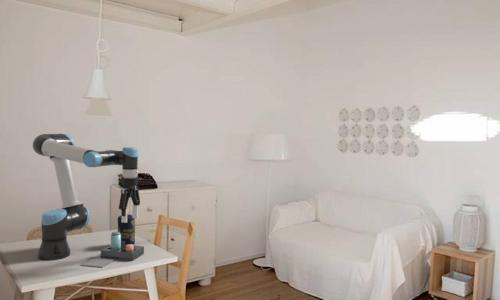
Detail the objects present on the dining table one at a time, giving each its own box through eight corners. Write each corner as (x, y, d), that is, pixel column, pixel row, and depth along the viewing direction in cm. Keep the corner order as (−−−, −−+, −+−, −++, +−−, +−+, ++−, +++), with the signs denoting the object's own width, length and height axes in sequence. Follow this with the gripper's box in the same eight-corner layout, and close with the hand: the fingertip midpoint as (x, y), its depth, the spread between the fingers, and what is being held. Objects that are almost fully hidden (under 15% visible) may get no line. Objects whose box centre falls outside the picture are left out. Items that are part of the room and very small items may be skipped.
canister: (129, 248, 226) (129, 216, 225) (114, 246, 228) (114, 215, 227) (137, 243, 235) (138, 213, 234) (123, 242, 237) (123, 212, 236)
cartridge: (109, 256, 211) (109, 233, 211) (114, 253, 216) (114, 231, 216) (117, 257, 210) (117, 234, 210) (122, 254, 215) (122, 231, 215)
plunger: (124, 253, 208) (124, 246, 208) (128, 251, 212) (128, 244, 211) (131, 254, 207) (131, 246, 207) (135, 252, 211) (135, 244, 211)
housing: (100, 257, 208) (100, 250, 208) (113, 251, 220) (113, 243, 220) (132, 260, 205) (132, 253, 204) (143, 253, 216) (143, 246, 216)
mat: (80, 265, 196) (80, 264, 196) (94, 257, 208) (94, 257, 208) (102, 267, 194) (102, 266, 194) (115, 259, 206) (115, 259, 206)
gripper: (125, 180, 195) (125, 225, 197) (147, 175, 218) (146, 215, 219) (111, 179, 197) (111, 224, 198) (134, 174, 219) (134, 215, 220)
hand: (129, 220), depth 209 cm, fingers open, 10 cm apart
